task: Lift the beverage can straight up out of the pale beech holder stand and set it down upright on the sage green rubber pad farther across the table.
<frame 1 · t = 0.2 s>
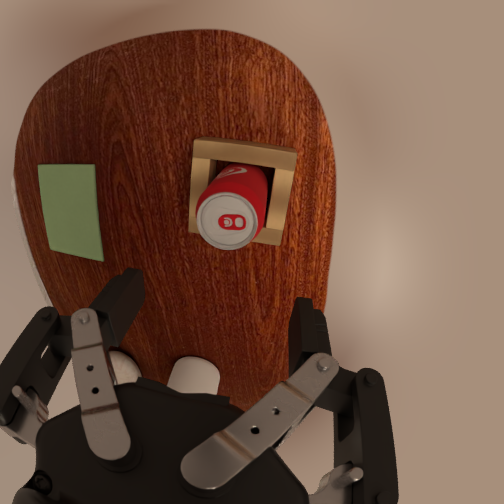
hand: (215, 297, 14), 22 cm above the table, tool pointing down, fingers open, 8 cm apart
decorative stone: (127, 362, 55), on the table
pad: (68, 211, 37), on the table
wine bottle: (197, 368, 52), on the table
stand: (242, 184, 33), on the table
beverage can: (243, 184, 33), resting in stand
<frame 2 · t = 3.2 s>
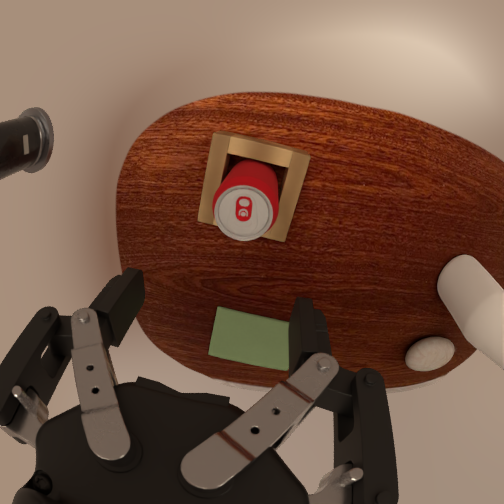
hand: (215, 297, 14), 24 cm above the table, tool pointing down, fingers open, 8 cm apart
decorative stone: (426, 344, 47), on the table
pad: (255, 341, 48), on the table
wine bottle: (455, 275, 38), on the table
stand: (253, 180, 34), on the table
beverage can: (253, 180, 35), resting in stand
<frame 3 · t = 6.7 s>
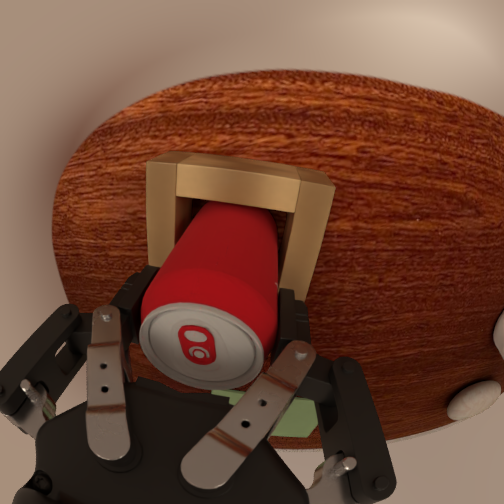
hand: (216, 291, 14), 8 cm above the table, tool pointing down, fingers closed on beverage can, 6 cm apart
decorative stone: (471, 388, 31), on the table
pad: (266, 416, 34), on the table
stand: (236, 230, 21), on the table
beverage can: (236, 229, 21), resting in stand, touching gripper
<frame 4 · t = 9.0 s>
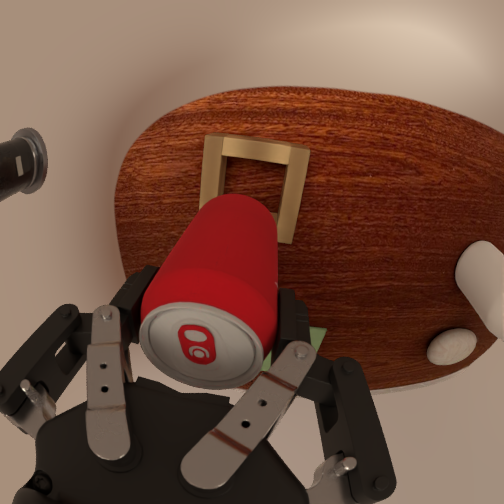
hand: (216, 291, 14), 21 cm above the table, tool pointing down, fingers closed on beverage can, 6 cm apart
decorative stone: (448, 337, 43), on the table
pad: (271, 348, 46), on the table
wine bottle: (473, 263, 35), on the table
stand: (253, 182, 33), on the table
beverage can: (236, 229, 21), point 14 cm above the table, touching gripper
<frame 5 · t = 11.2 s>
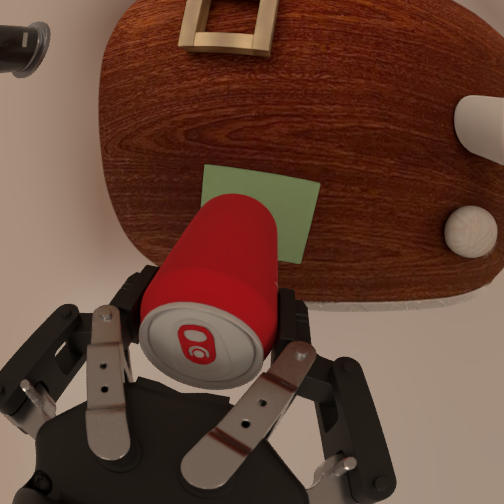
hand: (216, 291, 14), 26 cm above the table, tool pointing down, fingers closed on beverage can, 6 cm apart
decorative stone: (464, 225, 37), on the table
pad: (255, 215, 40), on the table
wine bottle: (471, 123, 28), on the table
stand: (233, 18, 26), on the table
beverage can: (236, 228, 21), point 18 cm above the table, touching gripper
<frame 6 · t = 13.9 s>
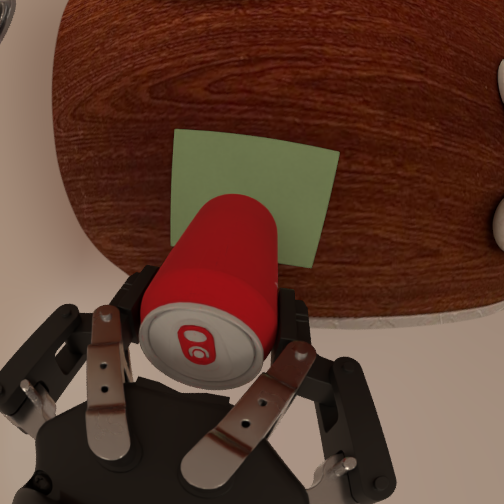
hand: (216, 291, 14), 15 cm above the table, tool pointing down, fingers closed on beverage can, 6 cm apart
pad: (247, 199, 28), on the table
beverage can: (236, 229, 21), point 8 cm above the table, touching gripper
when the fingers open (8 cm above the table, at t = 16.2 s): beverage can stays where it is, resting on pad.
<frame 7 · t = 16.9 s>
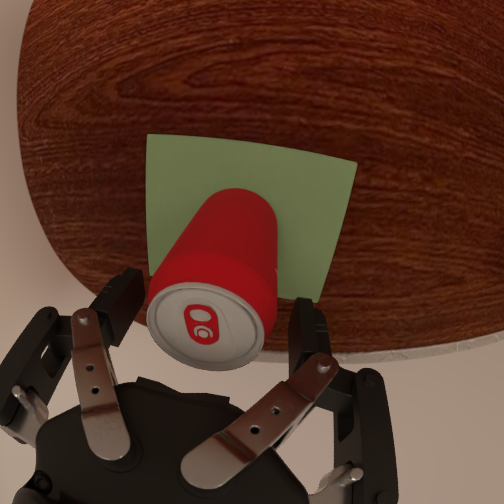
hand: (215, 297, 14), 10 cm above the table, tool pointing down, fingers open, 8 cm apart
pad: (240, 222, 22), on the table
beverage can: (238, 222, 22), resting on pad
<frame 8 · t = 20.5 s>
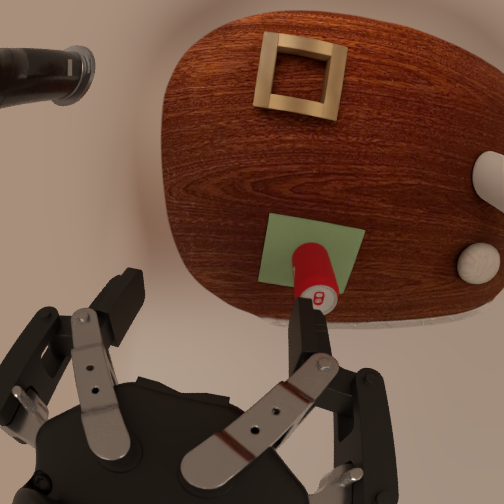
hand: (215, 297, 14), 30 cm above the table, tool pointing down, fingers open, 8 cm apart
decorative stone: (473, 256, 43), on the table
pad: (310, 256, 46), on the table
wine bottle: (486, 174, 35), on the table
stand: (298, 77, 33), on the table
beverage can: (309, 256, 46), resting on pad
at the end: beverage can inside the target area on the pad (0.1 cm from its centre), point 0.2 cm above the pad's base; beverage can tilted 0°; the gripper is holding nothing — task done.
